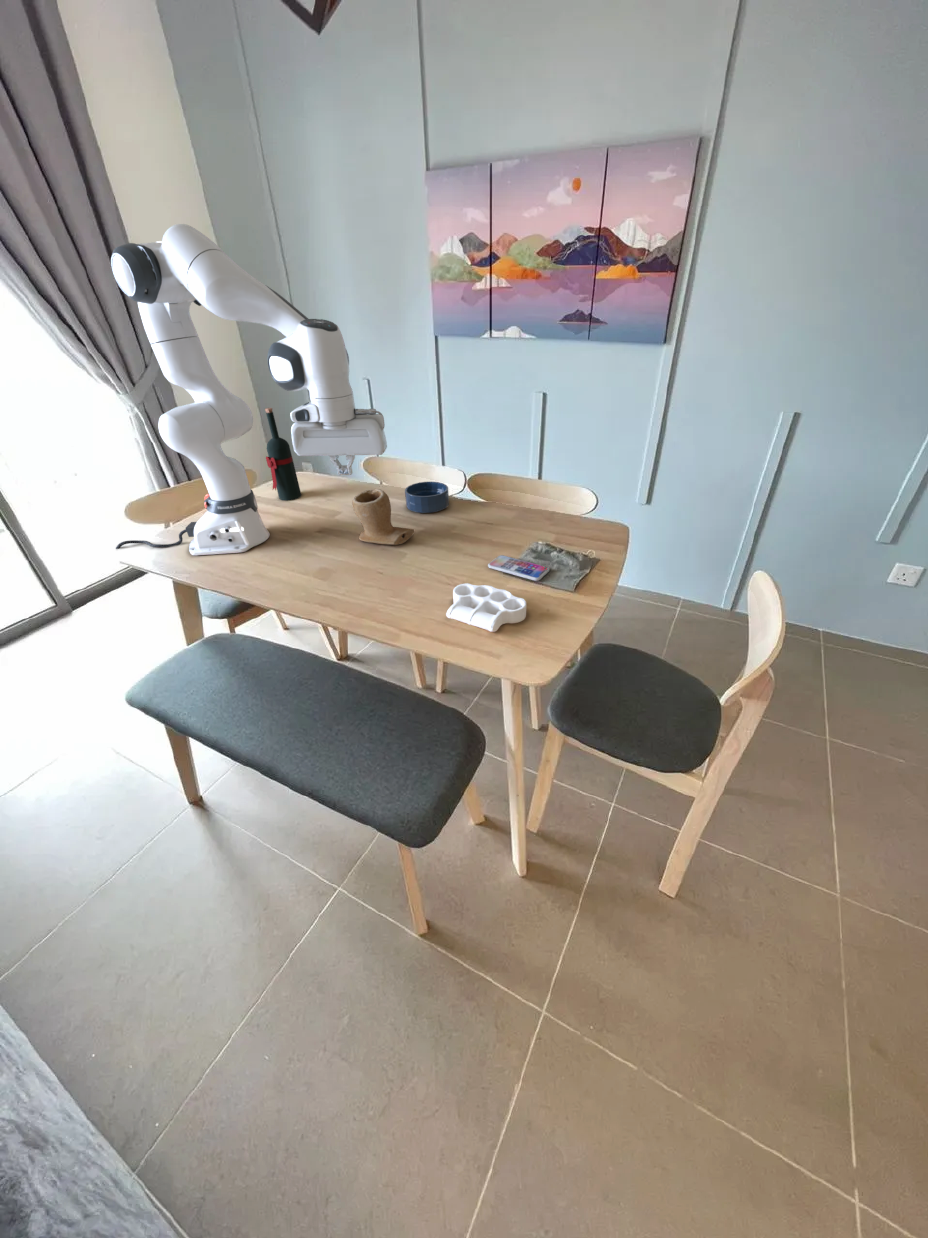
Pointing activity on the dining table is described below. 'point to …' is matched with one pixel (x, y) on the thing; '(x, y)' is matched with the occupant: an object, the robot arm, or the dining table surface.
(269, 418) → the wine bottle
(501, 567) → the smartphone
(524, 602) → the knuckle duster
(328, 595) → the dining table surface
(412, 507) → the bowl
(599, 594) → the dining table surface
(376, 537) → the stone cup
